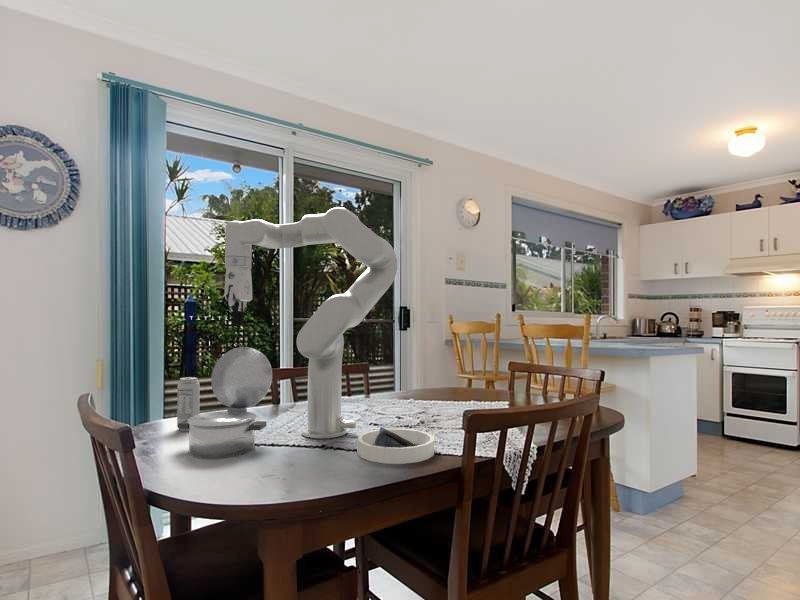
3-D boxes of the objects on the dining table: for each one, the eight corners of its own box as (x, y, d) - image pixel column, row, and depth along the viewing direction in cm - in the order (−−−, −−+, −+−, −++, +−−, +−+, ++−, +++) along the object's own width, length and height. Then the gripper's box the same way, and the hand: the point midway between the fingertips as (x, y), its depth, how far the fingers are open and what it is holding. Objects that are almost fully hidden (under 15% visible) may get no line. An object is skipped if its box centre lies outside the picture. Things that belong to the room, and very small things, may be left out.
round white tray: (434, 442, 133) (434, 429, 133) (433, 464, 114) (433, 449, 114) (364, 440, 135) (364, 427, 135) (351, 462, 116) (351, 447, 116)
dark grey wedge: (423, 453, 125) (390, 418, 127) (426, 453, 119) (391, 416, 121) (396, 481, 123) (363, 445, 125) (398, 483, 116) (363, 445, 118)
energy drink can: (203, 427, 148) (204, 377, 148) (188, 432, 143) (188, 380, 143) (188, 426, 150) (188, 376, 151) (172, 430, 145) (172, 379, 145)
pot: (275, 440, 135) (276, 410, 135) (250, 460, 117) (251, 426, 117) (200, 438, 137) (200, 409, 137) (164, 457, 119) (164, 424, 119)
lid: (267, 412, 134) (271, 413, 138) (273, 346, 139) (277, 349, 143) (206, 410, 135) (212, 411, 139) (214, 346, 140) (220, 348, 144)
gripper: (240, 261, 140) (239, 326, 140) (259, 265, 155) (258, 324, 155) (214, 261, 141) (213, 326, 141) (236, 265, 156) (235, 324, 156)
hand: (237, 325), depth 148 cm, fingers closed
